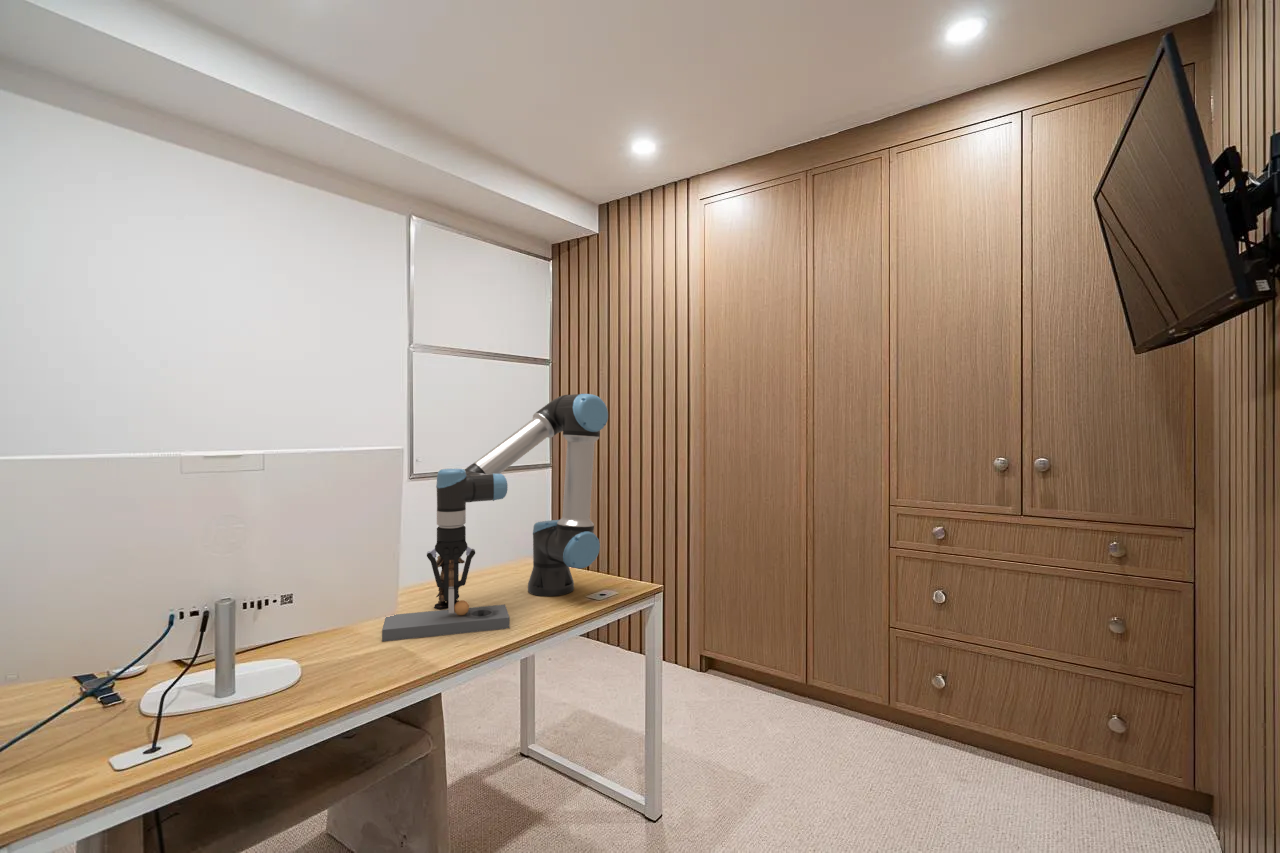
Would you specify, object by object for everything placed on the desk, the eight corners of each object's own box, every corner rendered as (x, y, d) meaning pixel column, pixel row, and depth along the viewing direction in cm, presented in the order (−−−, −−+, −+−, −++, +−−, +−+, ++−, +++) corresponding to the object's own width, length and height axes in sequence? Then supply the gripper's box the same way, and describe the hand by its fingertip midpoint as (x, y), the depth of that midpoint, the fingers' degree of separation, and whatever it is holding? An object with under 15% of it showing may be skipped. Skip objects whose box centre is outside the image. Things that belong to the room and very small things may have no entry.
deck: (505, 614, 178) (505, 604, 178) (509, 628, 166) (509, 617, 166) (386, 626, 168) (386, 615, 168) (382, 641, 156) (382, 629, 156)
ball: (454, 598, 169) (453, 613, 169) (454, 603, 166) (453, 617, 166) (469, 598, 171) (468, 612, 171) (469, 602, 167) (469, 616, 167)
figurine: (466, 604, 187) (466, 523, 186) (438, 612, 179) (438, 527, 179) (454, 600, 191) (454, 520, 190) (426, 608, 183) (426, 525, 183)
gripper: (475, 522, 172) (475, 605, 173) (426, 524, 168) (426, 609, 169) (476, 526, 165) (476, 613, 166) (425, 529, 161) (425, 618, 162)
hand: (451, 611), depth 167 cm, fingers closed
